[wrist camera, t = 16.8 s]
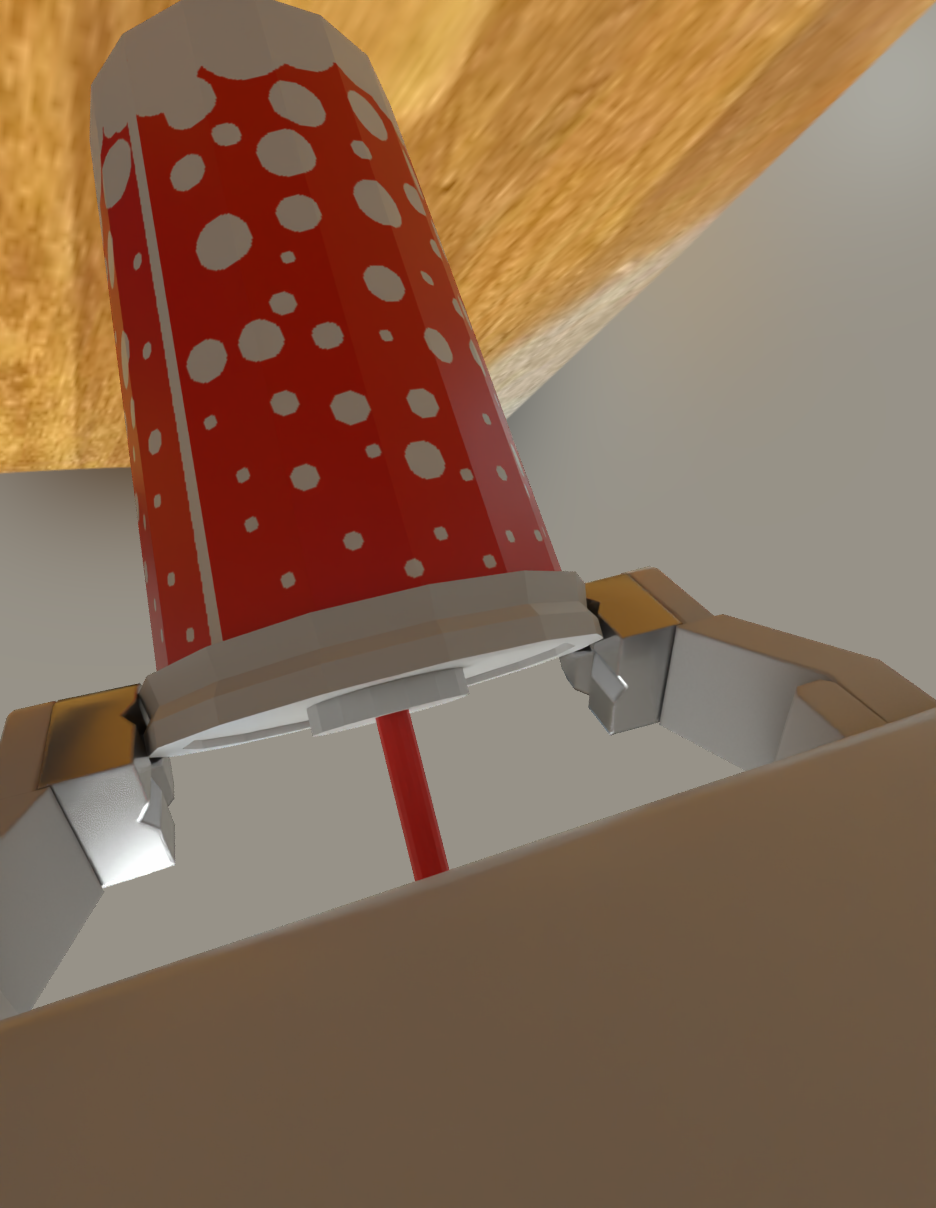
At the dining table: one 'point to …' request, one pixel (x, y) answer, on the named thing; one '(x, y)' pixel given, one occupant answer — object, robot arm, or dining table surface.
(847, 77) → the dining table surface
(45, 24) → the dining table surface
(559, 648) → the beverage cup
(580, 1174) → the robot arm
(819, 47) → the dining table surface
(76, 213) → the dining table surface
